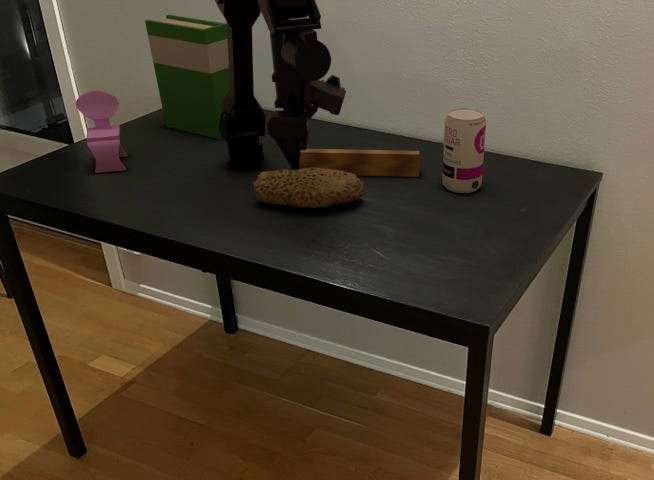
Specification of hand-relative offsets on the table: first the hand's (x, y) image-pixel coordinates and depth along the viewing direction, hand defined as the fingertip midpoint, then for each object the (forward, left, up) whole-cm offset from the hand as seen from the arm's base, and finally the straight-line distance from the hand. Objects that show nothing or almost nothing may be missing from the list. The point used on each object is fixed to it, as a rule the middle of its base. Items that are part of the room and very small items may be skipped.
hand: (299, 159), depth 123 cm
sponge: (0, +11, -13) cm, 17 cm away
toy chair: (-46, +29, -13) cm, 56 cm away
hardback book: (-32, +53, -13) cm, 63 cm away
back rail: (+8, +26, -13) cm, 30 cm away
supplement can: (+30, +21, -13) cm, 39 cm away
